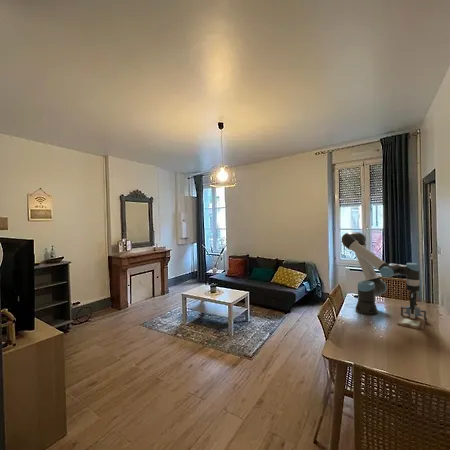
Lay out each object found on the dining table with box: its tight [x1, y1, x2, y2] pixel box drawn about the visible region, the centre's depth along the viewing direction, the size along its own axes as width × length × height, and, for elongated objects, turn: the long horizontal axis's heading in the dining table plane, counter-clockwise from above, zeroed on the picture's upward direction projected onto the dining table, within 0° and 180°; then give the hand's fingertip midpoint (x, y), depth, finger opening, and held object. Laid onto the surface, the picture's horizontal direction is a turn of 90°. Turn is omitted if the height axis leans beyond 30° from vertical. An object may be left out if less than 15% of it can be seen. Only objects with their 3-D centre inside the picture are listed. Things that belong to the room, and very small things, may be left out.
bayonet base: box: [397, 306, 427, 331], centre depth 176 cm, size 14×26×7 cm, turn 138°
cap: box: [403, 305, 424, 317], centre depth 181 cm, size 11×8×6 cm
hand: (413, 316), depth 181 cm, fingers closed on cap, 8 cm apart
